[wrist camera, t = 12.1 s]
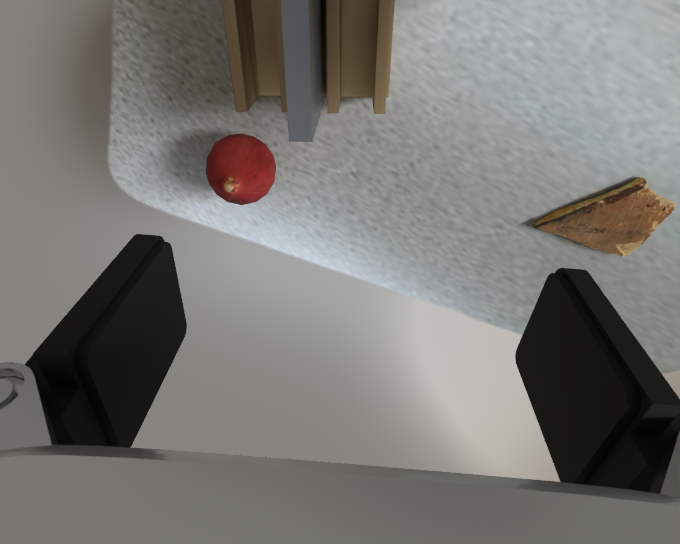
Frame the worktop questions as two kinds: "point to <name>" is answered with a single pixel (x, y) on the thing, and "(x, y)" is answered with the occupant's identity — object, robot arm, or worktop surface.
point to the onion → (240, 169)
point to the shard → (611, 218)
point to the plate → (304, 65)
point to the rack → (340, 50)
